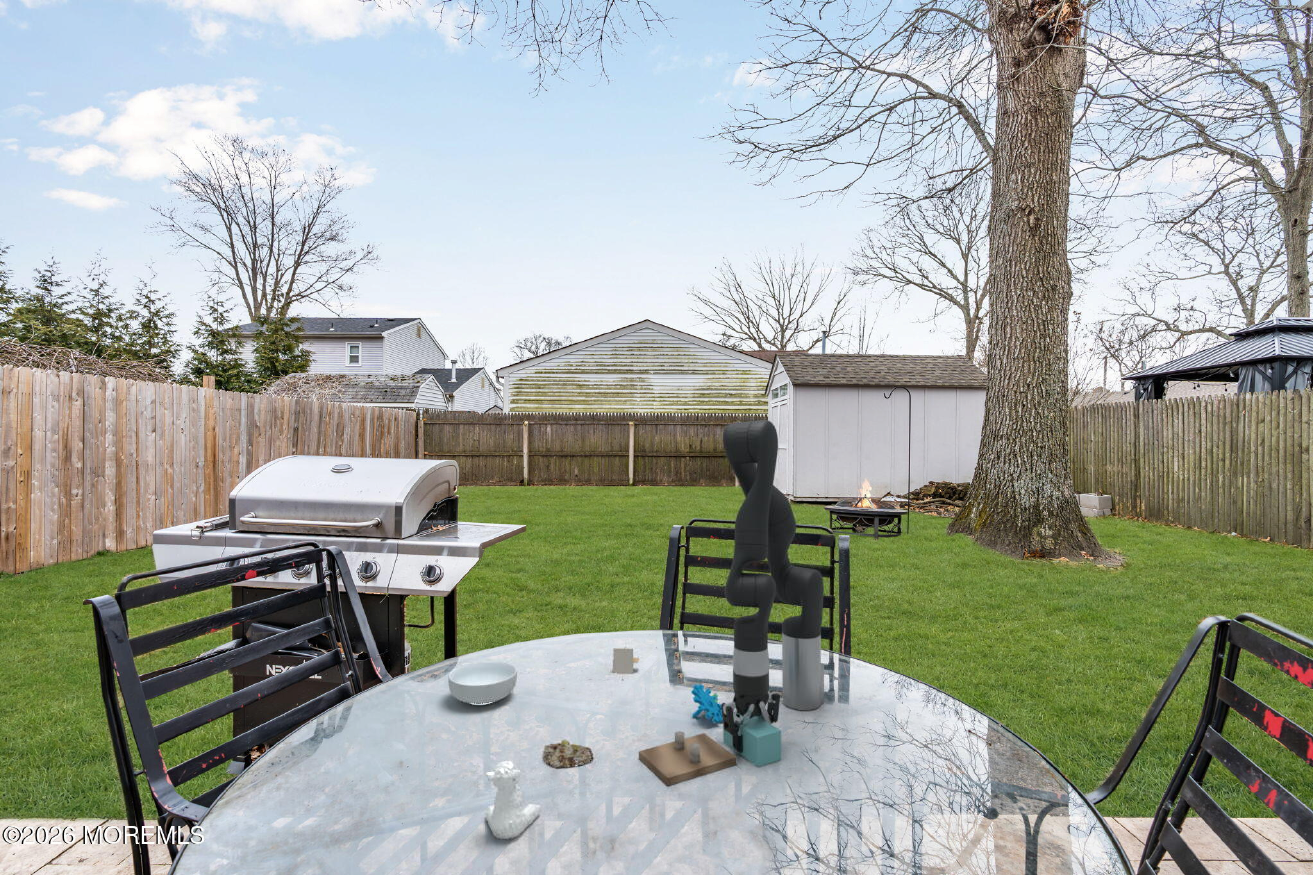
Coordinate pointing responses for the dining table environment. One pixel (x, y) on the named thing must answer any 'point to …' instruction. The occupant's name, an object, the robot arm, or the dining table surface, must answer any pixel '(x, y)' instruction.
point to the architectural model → (623, 660)
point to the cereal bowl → (482, 681)
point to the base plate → (686, 758)
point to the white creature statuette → (508, 803)
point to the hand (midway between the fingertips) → (751, 746)
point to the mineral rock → (566, 754)
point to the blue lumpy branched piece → (707, 703)
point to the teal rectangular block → (758, 742)
